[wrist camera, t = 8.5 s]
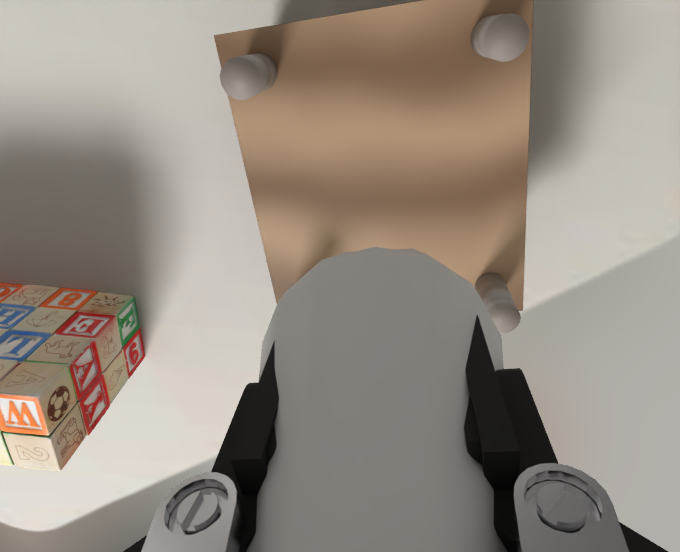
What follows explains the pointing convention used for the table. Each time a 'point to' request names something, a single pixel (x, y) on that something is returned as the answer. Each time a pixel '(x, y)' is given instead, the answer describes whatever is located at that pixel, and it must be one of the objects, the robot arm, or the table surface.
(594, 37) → the table surface
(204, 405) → the table surface
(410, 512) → the salt shaker
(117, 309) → the stack of blocks
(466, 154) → the shelf
